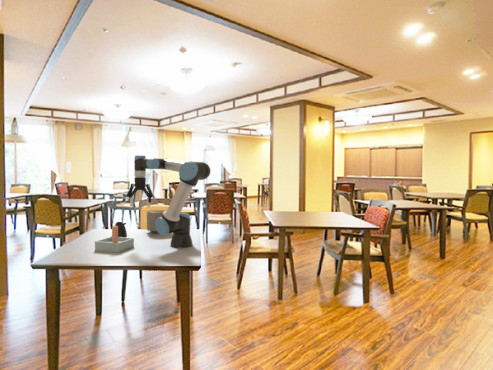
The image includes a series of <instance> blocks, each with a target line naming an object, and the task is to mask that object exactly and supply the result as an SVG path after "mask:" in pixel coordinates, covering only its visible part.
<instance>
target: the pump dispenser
mask: <svg viewBox="0 0 493 370" xmlns="http://www.w3.org/2000/svg"><path fill="white" fill-rule="evenodd" d="M125 225H127V222H122V221H117V222H116V223H115V224H114V226H118V237H126V238H128V233H127V229H126V226H125Z"/></svg>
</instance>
